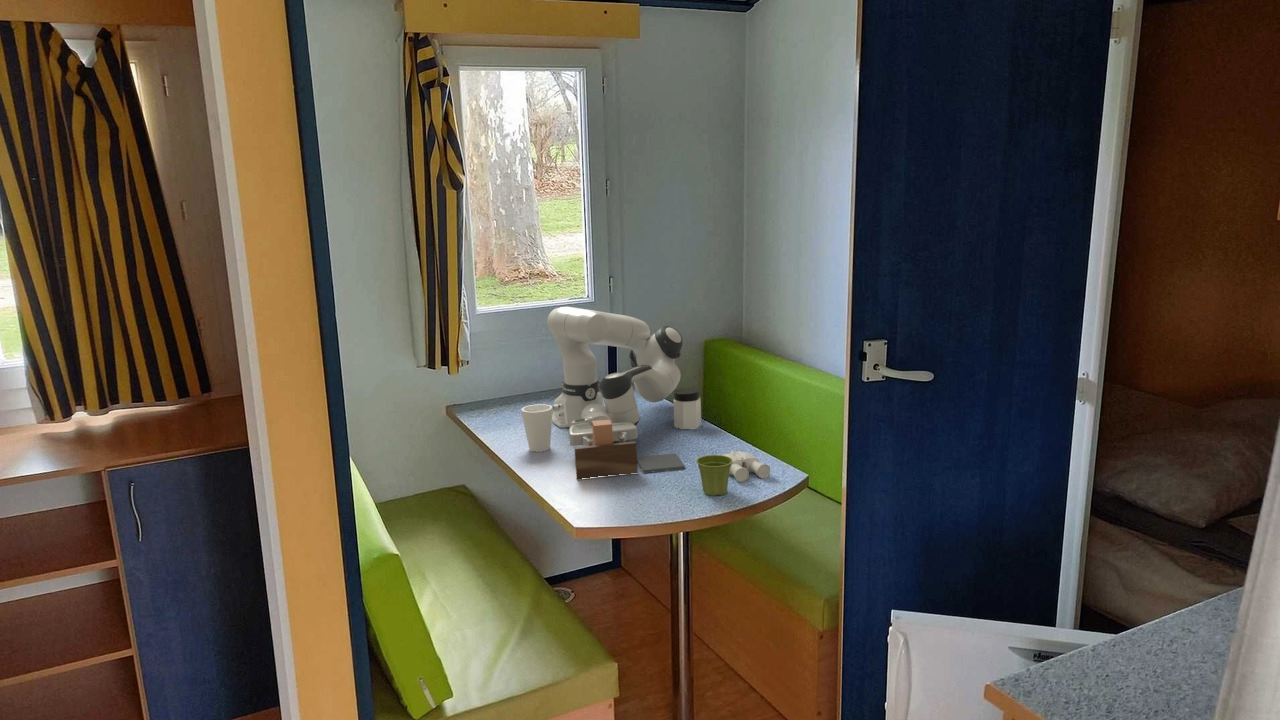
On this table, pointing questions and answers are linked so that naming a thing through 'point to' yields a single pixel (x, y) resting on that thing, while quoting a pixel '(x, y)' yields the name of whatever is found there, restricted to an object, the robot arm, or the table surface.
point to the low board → (606, 460)
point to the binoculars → (746, 466)
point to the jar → (687, 408)
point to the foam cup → (538, 426)
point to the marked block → (602, 432)
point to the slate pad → (660, 462)
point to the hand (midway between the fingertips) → (606, 442)
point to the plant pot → (714, 473)
